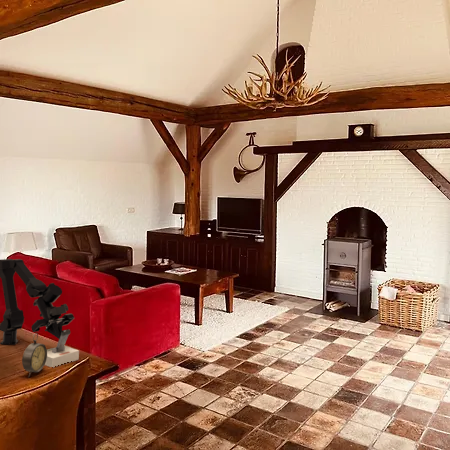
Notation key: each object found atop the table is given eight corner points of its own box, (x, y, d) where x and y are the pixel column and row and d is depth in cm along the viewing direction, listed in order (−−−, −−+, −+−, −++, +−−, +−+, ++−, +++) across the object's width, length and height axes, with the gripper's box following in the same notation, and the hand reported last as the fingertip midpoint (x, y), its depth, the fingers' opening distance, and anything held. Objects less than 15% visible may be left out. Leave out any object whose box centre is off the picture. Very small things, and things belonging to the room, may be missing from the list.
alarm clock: (30, 379, 181) (33, 337, 180) (18, 377, 182) (21, 335, 182) (46, 369, 192) (49, 330, 191) (34, 367, 193) (37, 328, 192)
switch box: (36, 361, 200) (37, 348, 199) (62, 354, 212) (63, 341, 211) (52, 367, 195) (53, 354, 194) (78, 359, 207) (79, 346, 206)
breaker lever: (54, 349, 202) (62, 329, 200) (60, 348, 205) (68, 328, 202) (57, 352, 201) (65, 332, 199) (63, 351, 204) (71, 331, 201)
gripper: (38, 301, 196) (53, 333, 191) (73, 295, 212) (88, 325, 207) (24, 315, 200) (39, 347, 195) (60, 309, 216) (74, 338, 211)
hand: (61, 339), depth 202 cm, fingers closed, pressing on breaker lever
